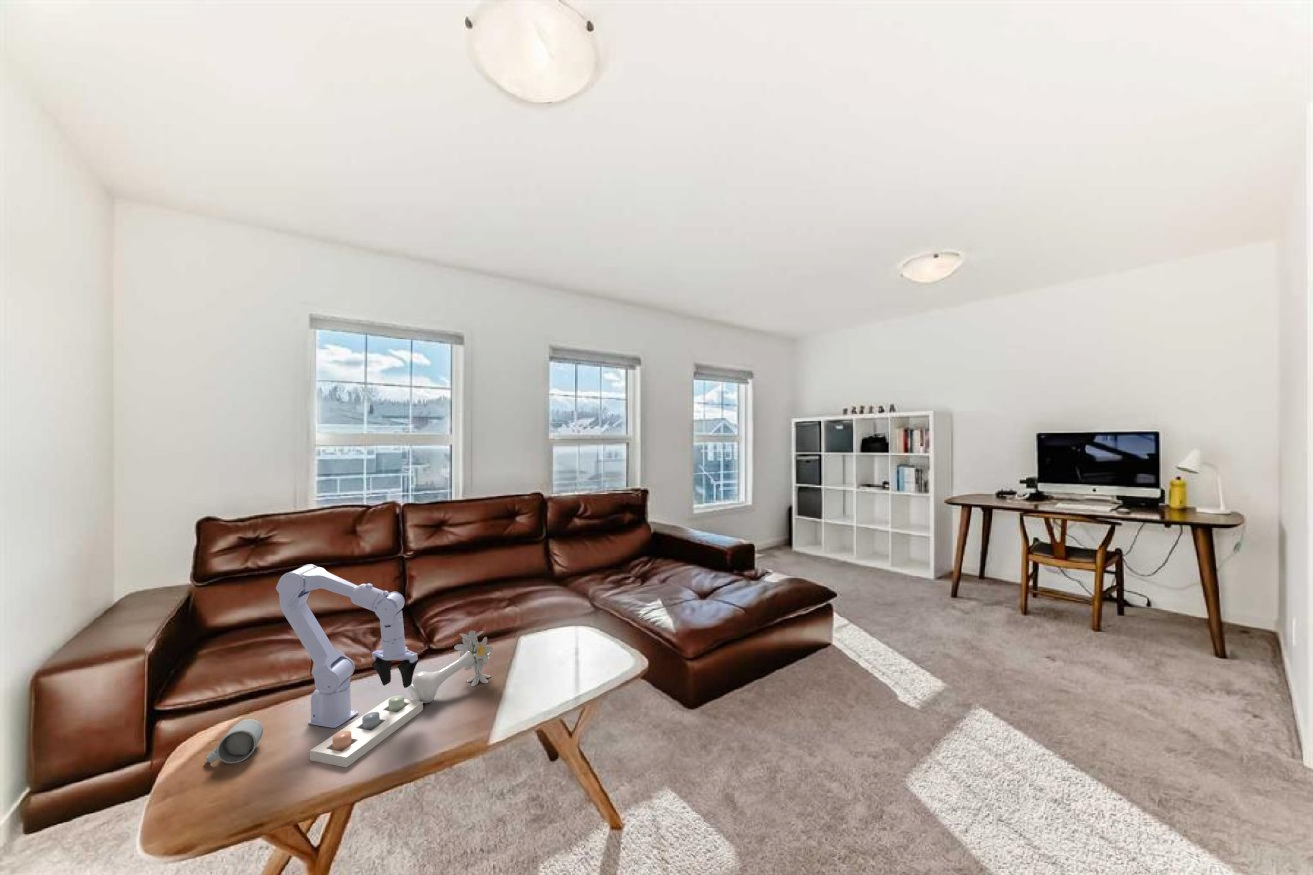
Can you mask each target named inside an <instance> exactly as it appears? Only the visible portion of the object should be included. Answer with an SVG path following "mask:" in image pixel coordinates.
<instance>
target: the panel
mask: <svg viewBox="0 0 1313 875" xmlns="http://www.w3.org/2000/svg"><path fill="white" fill-rule="evenodd" d="M391 697H392V696H390V697H389V698H387V699H386V700H385V701H383V702H381V703H380V704H378V705H377V706H375V707H374V708H372V709H371V710H369V711H367V712H366V713H365V714H367V713H370V712H379V714H380V725H379V726H377V727H376V728H374V729H373V730H372V731H370V730H364V729H362V717H363V716H364V715H365V714H363V715H361V716H360V717H359V718H357V719H355V720H354V721H353V722H351V723H349V724H348V725H346V726H345V727H343V728H342V729H341V730H338V731H337V732H336V733H334V734H332V735H331V736H329V737H328V738H326V739H325V740H324V741H322V742H321V743H319V744H317V745H316V746H315V747H313V748H311V749H310V750H309V760H310V761H312V762H317V763H323V764H327V765H334V766H338V767H343V768H348V767H349V766H350V765H352V764H353V763H354V762H356V761H357V760H359V759H360V758H361V757H362V756H363V755H365V754H367V753H368V752H369V751H370V750H372V749H373V748H374V747H376V746H377V745H379V744H380V743H381V742H383V741H384V740H385V739H386V738H388V737H389V736H390V735H392V734H393V733H394V732H395V731H397V730H398V729H399V728H401V727H402V726H404V725H405V724H406V723H408V722H409V721H411V720H412V719H413V718H414V717H416V716H417V715H418V714H419V713H421V712H423V710H424V705H423V704H424V703H423V702H421V701H414V700H412V699H406V698H404V708H403V709H401V710H400V711H398V712H392V711H389V706H388V700H389V699H390V698H391ZM342 731H351V740H352V745H350V746H349V747H348V748H346V749H345V750H343V751H342V752H341V751H335V750H333V736H334V735H335V734H337V733H339V732H342Z"/></svg>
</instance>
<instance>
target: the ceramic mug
mask: <svg viewBox="0 0 1313 875" xmlns="http://www.w3.org/2000/svg"><path fill="white" fill-rule="evenodd" d="M263 734H264V727H263V724H262V723H261V722H260V720H258V719H256V718H247V719H242V720H241V721H240V722H237V723H236V724H235V725H233V726H232V727H231V728H230V730H228V732H227V733H226V734H225V735H224V736H223V738H222V739H221V740H220V742H219V743H218V745H217V747H216V748H214V749H212V750H211V751H210V752H209V754H207V756H206V758H205V759H206V761H207V762H208V764H212V763H215V762H217V761H219V760H221V761H222V762H223V763H225V764H230V765H231V764H238V763H241V762H243V761H246V759H248V758H249V757H251V755H252V754H253V753H254V751H255V750H256V748H257V746H258V744H259V743H260V741H261V740H262V738H263V737H262V736H263Z"/></svg>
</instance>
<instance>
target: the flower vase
mask: <svg viewBox="0 0 1313 875" xmlns="http://www.w3.org/2000/svg"><path fill="white" fill-rule="evenodd" d="M483 633H484V630H482V631H478V632H476V631H475V630H470V631H468V634H466V633H459V634H458V635H459V636H460V637H462V643H459V644H456V645H454V646H453V647H454V650H456V651H460V653H459V658H458V659H456V660H455V661H454V662H451V663H450V664H448V665H447V666H445V667H444V668H441V669H439V670H436V671H425V670H424V671H423V670H422V671H417V672H416V673H415V674H413V678H412V683H411V685H410V686H408V687H407V692H408V693H409V696H410V698H411V700H414V701H421V702H423V704H428V703H431V702H432V701H433V700H434V699H435V698H436V696H437V693H438V690H439V689H440V687H441V685H442V684H443V683H444V682H445V681H447V680H448V679H449V678H450V677H452V676H453V675H454V674H456V673H457V672H459V671H460V670H461V669H464V670H465V671H469V670H471V669H473V671H474V673H475V675H473V676H472V677H470V678H469V679H467V680H466V681H467V683H470V686H471V687H475V686H477V685H478V684H479V682H481V683H482V684H488V683H489V680H488V679H489V678H491V677H492V676H491V675H489V674H485V673H481V672H482V670H483V667H484V665H486V664H488V663H489V660H490V656H489V655H490V654H491V653H492V652H493V651H494V647H492V646H491V645H487V643H488V637H487V636H485V637H484V638H482V641H480V642H479V641H478V636H480V635H482V634H483ZM487 678H488V679H487Z"/></svg>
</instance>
